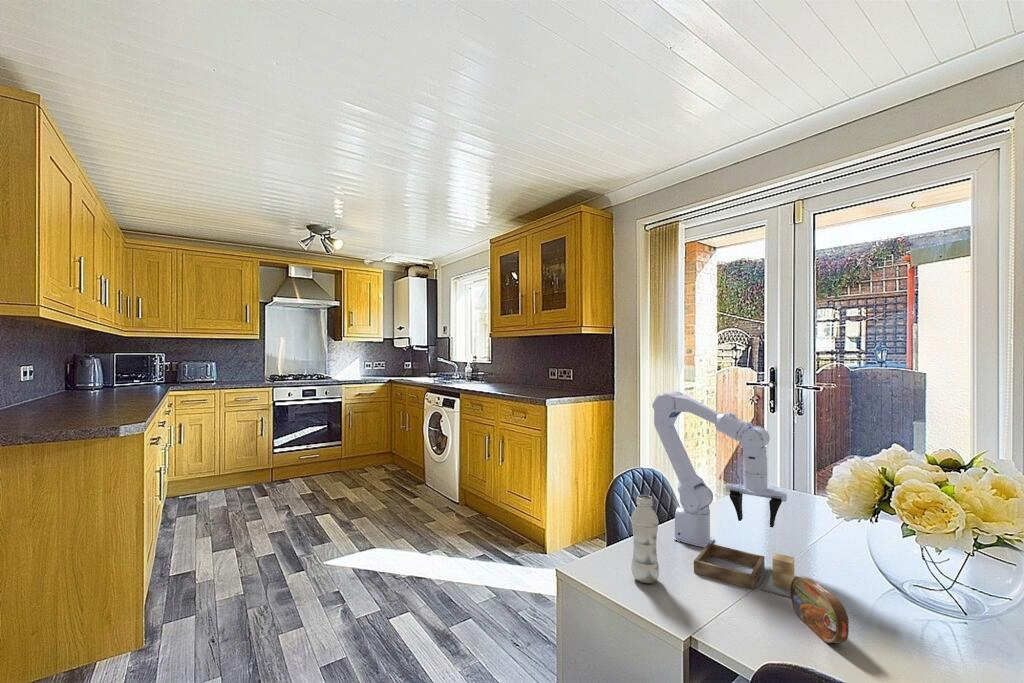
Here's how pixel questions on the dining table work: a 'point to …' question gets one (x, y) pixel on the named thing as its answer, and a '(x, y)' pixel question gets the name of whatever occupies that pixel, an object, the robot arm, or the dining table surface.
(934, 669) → the dining table surface
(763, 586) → the mat
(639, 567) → the plastic bottle
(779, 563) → the oak block
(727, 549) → the frame box
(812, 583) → the tin
